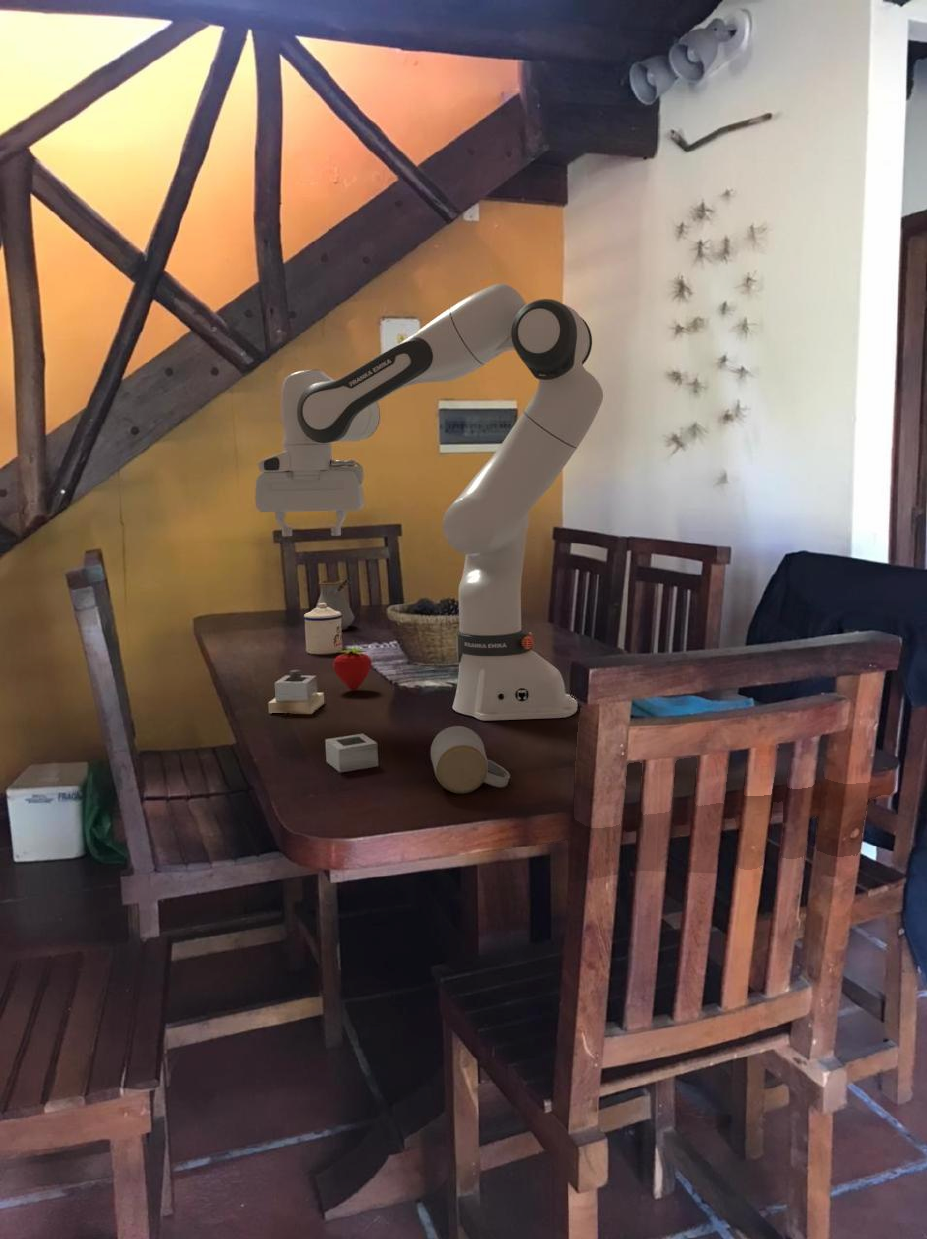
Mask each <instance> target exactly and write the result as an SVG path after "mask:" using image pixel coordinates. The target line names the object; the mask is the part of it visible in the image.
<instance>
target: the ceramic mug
mask: <svg viewBox="0 0 927 1239" xmlns="http://www.w3.org/2000/svg"><path fill="white" fill-rule="evenodd" d="M430 760H431V763H432V766H433V771H434V774H435V777H436V779H437V781H438V782H439V783H440V785H441V786H442V787H443V788H444V789H446V790H447V791H448V792H450V793H453V794H461V795H462V794H469V793H473V792H474V791H476V790H477V789H478V788H479V787H480V786H482V784H483V783H485V784H487V785H489V786H492V787H496V788H505V787H507V785H508V783H509V780H510V778H511V774H510V772H509V771H507V769H505V768H504V767H503V766H501V765H500V764H498V763H496V762H494V761H493V760H490V759H488V756H487V755H486V749H485V745H484V742H483V741H482V739H481V737H480V735H478V734H477V732H476V731H474V730H472V729H471V728H468V727H465V726H461V725H458V726H457V725H454V726H449V727H447V728H444V729H442V730H441V731H440V732H438V734H437V735H436V736H435V738H434V739H433V741H432V743H431V746H430Z"/></svg>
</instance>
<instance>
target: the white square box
mask: <svg viewBox="0 0 927 1239" xmlns="http://www.w3.org/2000/svg"><path fill="white" fill-rule="evenodd" d="M324 740H325V741H324V742H325V756H326V758H325V759H326V763H327V764H329V766H331V767H332V768H333V769H335V770H336V771H337V772H338V773H340V774H341V773H344V772H345V773H346V772H352V771H358V770H365V769H368V768H375V767H379V756H378V755H379V754H378V753H379V752H378V750H379V749H378V743H377V741H375V740H373V739H372V738H370V737H368V735H365V734H364V733H357V734H351V735H345V736H338V737H333V738H326V739H324Z"/></svg>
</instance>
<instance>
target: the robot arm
mask: <svg viewBox="0 0 927 1239" xmlns="http://www.w3.org/2000/svg"><path fill="white" fill-rule="evenodd" d="M592 347H593V337H592V332H591V328H590V327H589V325H588V323H587V321H586V320H585V319H584V318H582V316H580V314H579V313H578V312H577V311H576V310H575V309H573V308H572V307H571V306H569V305H567V304H564V303H562V302H560V301H559V300H556V299H551V298H543V299H542V298H541V299H537V300H533V301H531V302H530V303H528V304H527V303H526V301H525V299H524V298H523V296H522V295H521V293H519V292H518V291H517V290H516V288H514V287H512V286H510V285H509V284H506V283H495V284H493V285H489V286H488V287H485V288H483V289H481V290H479V291H477V292H475V293H473V294H471V295H469V296H467V297H465V298H463V299H462V300H460V301H458V302H456V304H455V303H454V305H452V306H450V307H449V308H447V309H446V310H444V311H443V312H442V313H441V314H439V315H438V316H437V317H435V318H434V319H432V320H431V321H429V322H428V323H426V325H424V326H423V327H421V328H420V329H419V330H418V331H416V332H414V333H413V334H411V335H410V336H408V337H407V338H405V339H404V340H402V341H401V342H400V343H398V344H397V345H395V346H394V347H392V348H390V349H388V350H387V351H384V352H383V353H381V354H379V355H378V356H376V357H375V358H373V359H371V360H370V361H368V362H365V363H364V364H363V365H361V366H359V367H358V368H356V369H354V370H353V371H351V372H349V373H348V374H346V375H344V376H343V377H341V378H338V379H334V378H332V377H330V376H329V375H327V374H326V373H325V372H324V371H323V370H319V369H306V370H300V371H299V370H298V371H296V372H293V373H290V374H289V375H288V376H286V377H285V378H284V380H283V382H282V387H281V393H280V394H281V395H280V397H281V398H280V415H281V416H280V417H281V423H282V427H283V431H284V432H283V433H284V436H283V441H282V450H283V451H281V452H280V453H277V454H274V455H271V456H269V457H266V458H263V459H261V460H259V461H258V464H257V467H258V471H259V472H261V473H259V475H258V477H257V478H256V480H255V489H254V490H255V492H254V493H255V494H254V497H255V498H254V499H255V503H254V504H255V507H256V509H257V510H258V512H260V513H274V518H275V520H276V521H277V524H279V526H280V527H281V535H282V537H283V538H285V537H293V526H289V525H288V524H287V522H286V520H285V518H286V517H287V512H289V513H291V512H293V513H294V512H335V516H336V518H338V519H337V521H336V522H335V525H331V526H330V531H331V532H330V535H331V536H332V537H333V536H334V537H336V536H337V537H339V536H341V535H342V528H341V526H342V525H343V523H344V521H345V520H346V518H347V511H349V512H350V511H352V512H353V511H361V510H362V509H363V508H364V506H365V496H364V489H363V488H364V487H363V484H362V483H363V481H364V468H363V466H362V465H361V464H360V463H359V462H356V461H355V460H354V459H353V460H352V459H349V460H348V459H347V460H340V459H339V460H337V459H336V460H333V459H332V458H333V456H332V455H333V454H332V453H333V451H332V443H334V442H344V443H345V442H360V441H363V440H367V439H368V438H370V437H372V436H373V434H374V433H375V432H376V431H377V429H378V427H379V425H380V422H381V421H380V419H381V411H380V410H381V409H380V406H379V404H378V402H380V401H382V400H383V399H385V398H386V397H388V396H389V395H392V394H393V393H395V392H397V391H399V390H401V389H404V388H407V387H408V386H412V385H417V384H425V383H440V382H441V383H442V382H452V381H455V380H457V379H459V378H462V377H464V376H467V375H469V374H471V373H473V372H475V371H476V370H479V369H480V368H482V367H483V366H484V365H486V364H488V363H489V362H490V361H492V360H494V359H495V358H496V357H499V356H500V355H502V354H504V353H506V352H509V351H515V352H516V354H517V355H518V357H519V358H520V360H521V361H522V362H523V363H524V365H525V366H526V367H527V369H528V371H529V372H531V374H532V376H534V378H535V379H538V386H537V388H536V391H535V393H534V394H533V395H532V398H531V399H530V401H529V403H528V404H527V405H526V407H525V408H524V410H523V411H522V413H521V414H520V416H519V417H518V419H517V420H516V422H515V423H514V425H513V426H512V428H511V429H510V431H509V432H508V434H507V435H506V436H505V439H504V440H503V441H502V443H501V444H500V445H499V447H498V449H497V450H496V451H495V453H494V454H493V455H492V456H491V458H490V459H489V460H488V461H487V462H486V463H485V464H484V465H483V467H482V468H480V469H479V471H478V472H477V473H476V475H474V477H473V478H472V479H471V481H469V483H468V484H467V485H466V487H465V488H464V490H462V492H461V493H460V494H459V496H458V497H457V498H455V500H454V501H453V502H452V503H451V504H450V506H448V508H447V509H446V510H445V513H444V515H443V519H442V532H443V536H444V538H445V540H446V541H447V543H448V544H449V546H451V548H452V549H454V550H455V551H457V552H458V553H462V554H464V555H465V558H464V565H463V571H462V575H461V579H460V582H459V584H458V616H459V617H458V618H459V619H458V621H459V626H458V627H459V630H458V631H457V635H456V656H457V661H458V664H459V665H458V676H457V677H458V678H457V684H456V691H455V696H454V699H453V703H452V709H453V710H454V711H455V712H456V713H459V714H462V715H465V716H470V717H474V718H475V719H477V720H480V721H485V722H486V721H509V720H511V721H512V720H513V721H514V720H534V719H535V720H537V719H538V720H540V719H560V718H561V719H562V718H567V717H570V716H572V715H574V714H576V712H577V711H578V708H579V707H578V706H579V705H578V700H577V699H576V700H577V701H576V700H575V699H574V698H572V697H571V696H572V695H571V694H568V693H566V687H565V682H564V679H563V676H562V674H561V671H560V670H559V669H557V668H556V667H555V666H553V664H551V663H550V662H549V661H547V660H545V658H543V657H541V656H540V654H537V653H536V652H535V651H534V650H533V649H534V644H535V643H534V642H535V640H534V638H533V637H534V636H533V634H532V632H531V631H530V632H528V631H526V630H524V629H523V628H522V600H521V599H522V598H521V597H522V595H521V593H522V592H521V591H522V590H521V589H522V578H523V577H522V575H523V570H524V561H525V554H526V543H527V533H528V528H529V525H530V512H529V511H530V510H531V509H532V507H533V506H534V505H535V504H536V503H537V502H538V501H539V500H540V499H541V497H542V496H544V494H545V493H546V492H547V491H548V489H550V488H551V487H552V486H553V484H554V482H555V481H556V479H557V478H558V477H559V475H560V474H561V472H562V471H563V469H564V468H565V466H566V465H567V464H568V462H569V461H570V459H571V457H573V455H574V453H575V452H576V450H577V449H578V447H579V446H580V444H581V443H582V442H583V440H584V438H585V436H586V435H587V433H588V431H589V430H590V428H591V427H592V424H593V422H594V421H595V418H596V417H597V414H598V412H599V410H600V408H601V405H602V403H603V399H604V393H603V388H602V386H601V384H600V383H599V380H598V379H596V377H595V376H594V374H591V373H590V372H589V371H588V370H586V368H585V367H584V364H585V363H586V362H587V360H588V359H589V357H590V354H591V352H592ZM570 695H571V696H570ZM577 707H578V708H577Z"/></svg>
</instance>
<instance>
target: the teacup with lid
mask: <svg viewBox="0 0 927 1239" xmlns="http://www.w3.org/2000/svg"><path fill="white" fill-rule="evenodd" d="M341 617H342V615H341V613H340V612H339V611H335V610H333V609H331V608H329V607H326V603H319V604H318V608H316V607H315V608H313V609H311V611H309V612H306V613H305V614H304V615H303V620H304V631H305V632H304V635H305V650H306V653H308V654H311V655H333V654H337V653H339V652H340V651H343V635H342V634H343V632H342V628H341Z"/></svg>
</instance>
